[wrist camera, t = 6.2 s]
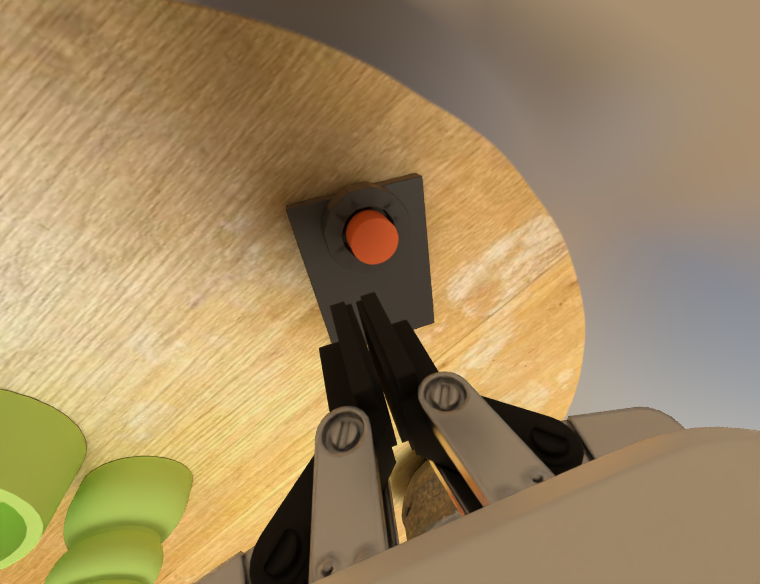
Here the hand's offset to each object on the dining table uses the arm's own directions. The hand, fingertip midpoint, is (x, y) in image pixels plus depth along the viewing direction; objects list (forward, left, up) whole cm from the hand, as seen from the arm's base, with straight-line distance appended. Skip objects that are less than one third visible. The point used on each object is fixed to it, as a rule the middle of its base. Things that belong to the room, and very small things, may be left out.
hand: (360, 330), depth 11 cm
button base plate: (+6, +3, -14) cm, 15 cm away
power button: (+1, +3, -11) cm, 12 cm away
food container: (+16, -29, -14) cm, 36 cm away
